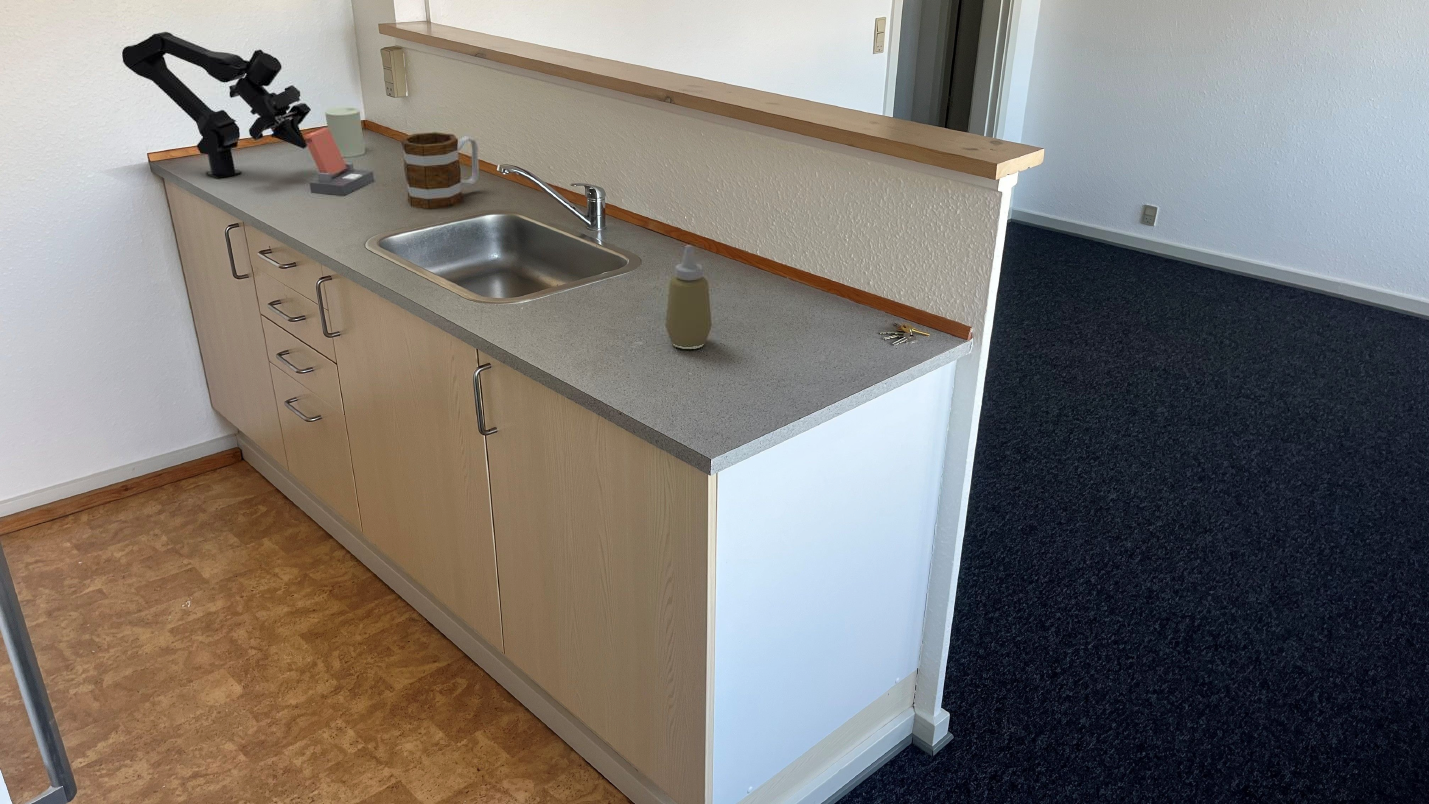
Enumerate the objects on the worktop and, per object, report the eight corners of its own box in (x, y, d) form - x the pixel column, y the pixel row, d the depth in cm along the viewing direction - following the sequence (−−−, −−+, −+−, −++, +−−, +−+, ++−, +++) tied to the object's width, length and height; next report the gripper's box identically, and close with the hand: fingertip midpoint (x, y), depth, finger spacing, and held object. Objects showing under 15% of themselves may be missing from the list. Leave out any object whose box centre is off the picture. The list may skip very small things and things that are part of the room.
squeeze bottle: (664, 335, 188) (664, 238, 180) (709, 334, 189) (711, 238, 180) (666, 354, 181) (666, 254, 173) (713, 353, 182) (715, 254, 173)
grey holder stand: (311, 192, 260) (308, 174, 258) (342, 177, 272) (340, 160, 270) (343, 195, 258) (341, 177, 256) (374, 180, 270) (371, 163, 268)
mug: (426, 213, 248) (419, 149, 241) (396, 200, 256) (388, 138, 249) (496, 196, 260) (491, 135, 253) (465, 185, 268) (460, 125, 261)
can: (372, 152, 295) (366, 108, 289) (346, 159, 288) (339, 114, 282) (350, 147, 299) (344, 104, 294) (323, 153, 292) (316, 110, 287)
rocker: (322, 178, 261) (302, 136, 257) (340, 170, 268) (321, 128, 264) (329, 176, 260) (309, 133, 256) (347, 168, 267) (328, 126, 263)
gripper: (250, 83, 248) (299, 134, 251) (297, 69, 264) (343, 117, 267) (228, 115, 253) (276, 164, 256) (275, 99, 269) (320, 146, 272)
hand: (305, 147), depth 263 cm, fingers closed
